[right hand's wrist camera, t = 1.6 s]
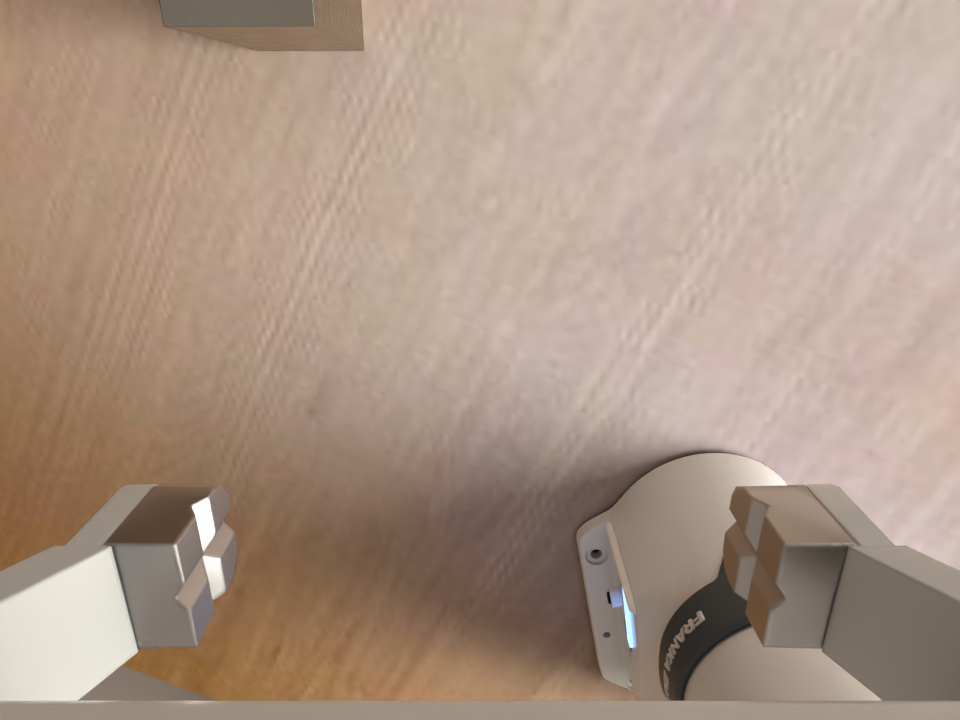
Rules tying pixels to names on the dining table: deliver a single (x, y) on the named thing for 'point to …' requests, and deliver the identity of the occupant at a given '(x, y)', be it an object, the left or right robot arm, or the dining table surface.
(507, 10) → the dining table surface
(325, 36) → the box
